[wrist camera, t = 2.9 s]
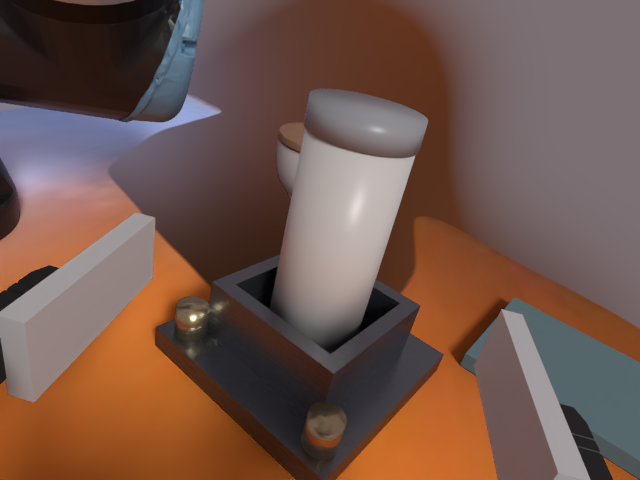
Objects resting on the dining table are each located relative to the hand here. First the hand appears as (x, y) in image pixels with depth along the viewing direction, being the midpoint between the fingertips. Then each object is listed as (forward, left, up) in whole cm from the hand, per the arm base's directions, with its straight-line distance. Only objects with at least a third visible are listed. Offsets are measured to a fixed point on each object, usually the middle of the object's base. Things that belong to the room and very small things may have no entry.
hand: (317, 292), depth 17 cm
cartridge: (-5, +9, -11) cm, 15 cm away
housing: (-5, +9, -12) cm, 16 cm away
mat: (+11, +24, -12) cm, 29 cm away
